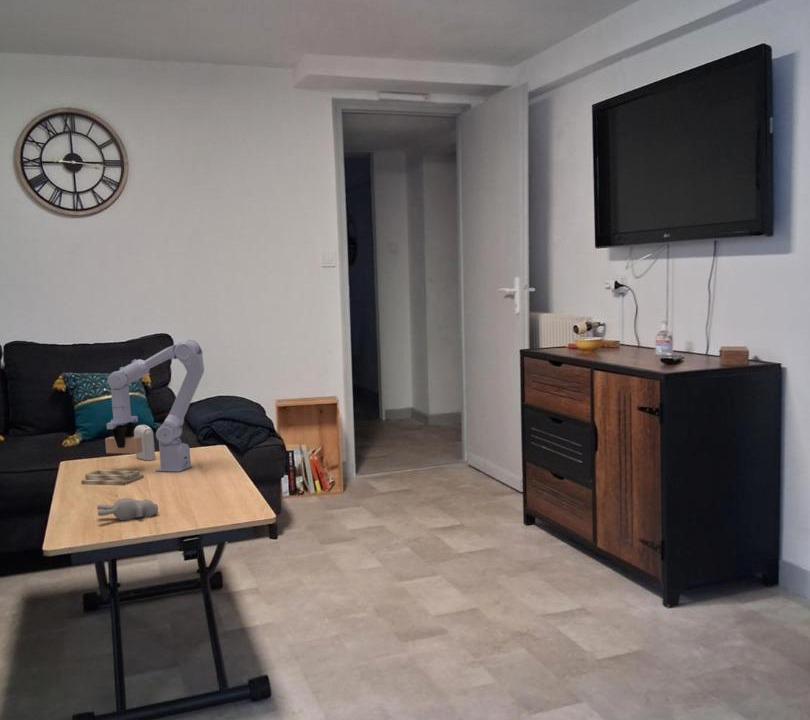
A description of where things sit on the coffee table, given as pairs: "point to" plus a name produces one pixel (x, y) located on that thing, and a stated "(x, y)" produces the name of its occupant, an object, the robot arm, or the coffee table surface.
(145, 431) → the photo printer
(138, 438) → the clay strip
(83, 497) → the coffee table surface
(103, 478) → the framed rectangular tray
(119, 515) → the bunny figurine
